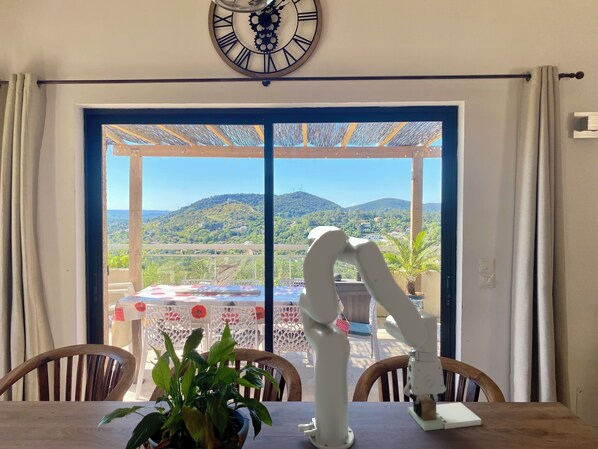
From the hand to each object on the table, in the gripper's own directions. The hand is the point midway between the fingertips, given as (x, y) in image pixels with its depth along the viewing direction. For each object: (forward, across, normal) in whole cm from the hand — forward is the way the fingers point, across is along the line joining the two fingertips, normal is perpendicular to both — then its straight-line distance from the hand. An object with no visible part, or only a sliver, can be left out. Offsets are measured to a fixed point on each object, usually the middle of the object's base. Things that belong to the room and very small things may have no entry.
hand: (424, 413), depth 105 cm
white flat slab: (+2, +10, 0) cm, 10 cm away
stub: (+2, 0, 0) cm, 2 cm away
